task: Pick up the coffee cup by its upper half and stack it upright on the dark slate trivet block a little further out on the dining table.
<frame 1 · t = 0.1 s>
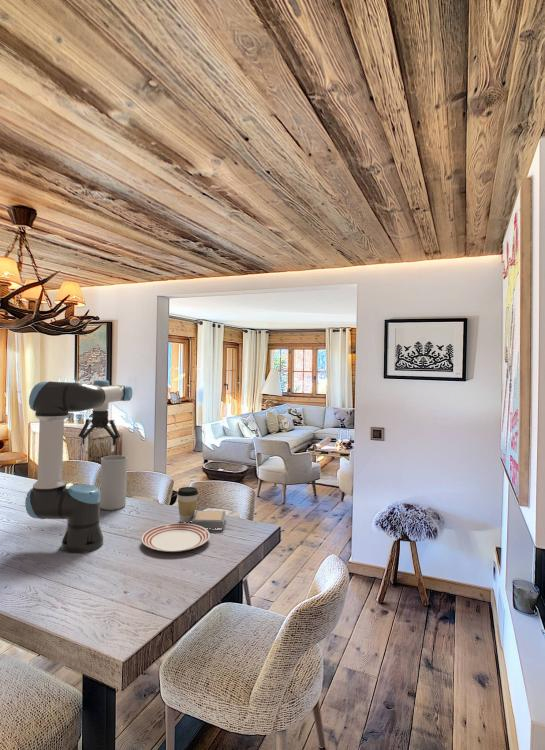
hand: (99, 451, 214), 28 cm above the table, fingers open, 13 cm apart
dinner plate: (176, 543, 171), on the table
coffee cup: (186, 521, 196), on the table
trivet base: (208, 524, 192), on the table
cylinder vase: (112, 506, 213), on the table
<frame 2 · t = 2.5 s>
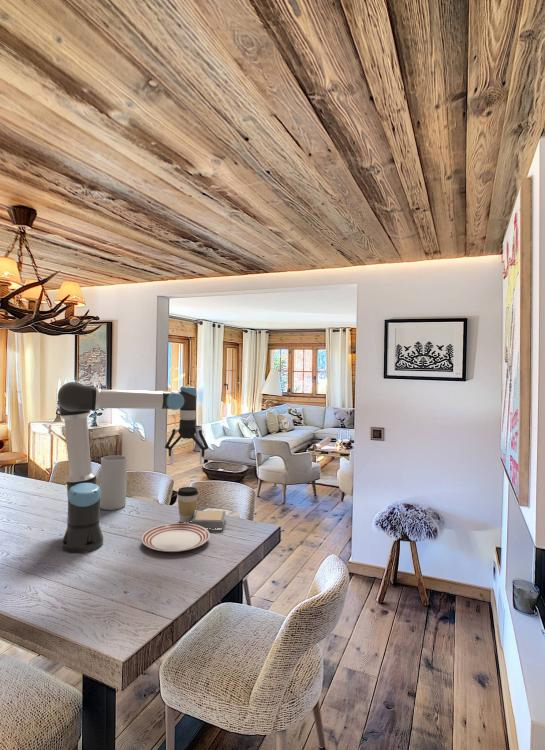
hand: (186, 463, 197), 27 cm above the table, fingers open, 13 cm apart
nothing on the table moved.
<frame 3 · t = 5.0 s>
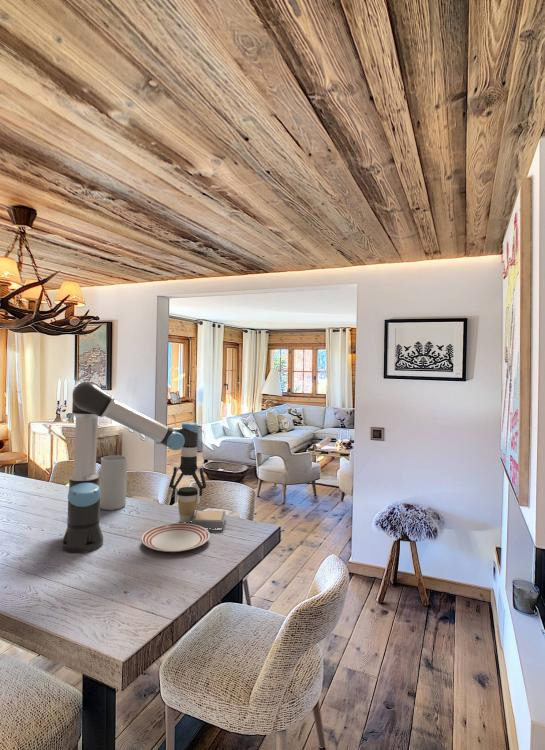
hand: (187, 502, 196), 9 cm above the table, fingers closed on coffee cup, 10 cm apart
coffee cup: (186, 521, 196), on the table, touching gripper
everything else where it was.
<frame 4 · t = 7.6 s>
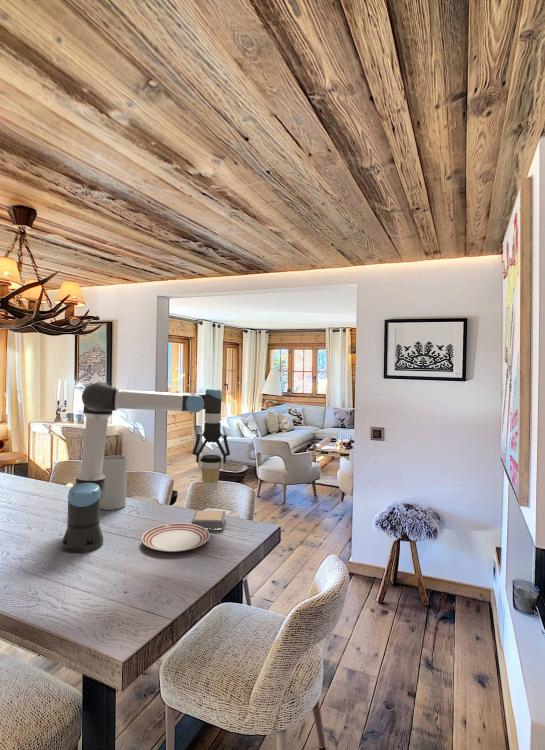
hand: (210, 470, 192), 25 cm above the table, fingers closed on coffee cup, 10 cm apart
coffee cup: (210, 489, 192), point 16 cm above the table, touching gripper
everything else where it was.
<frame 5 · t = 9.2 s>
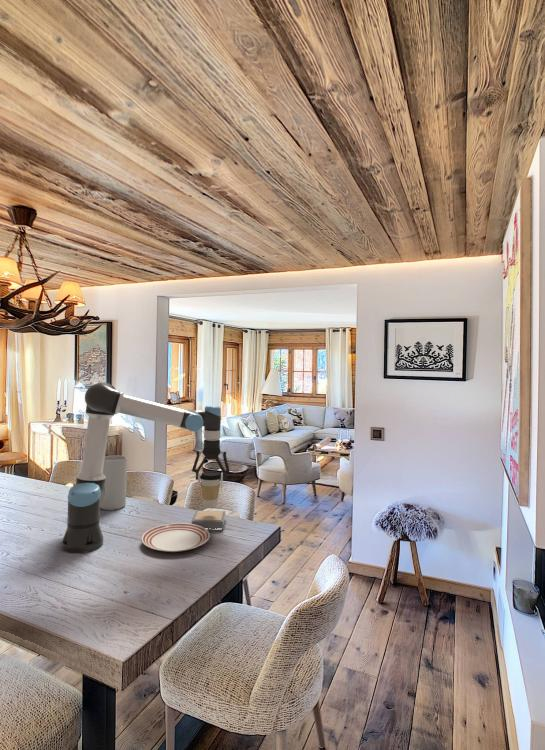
hand: (210, 487, 192), 17 cm above the table, fingers closed on coffee cup, 10 cm apart
coffee cup: (209, 506, 192), point 9 cm above the table, touching gripper
everything else where it was.
when the fingers open (14 cm above the table, at t = 10.6 s): coffee cup drops 1 cm, resting on trivet base.
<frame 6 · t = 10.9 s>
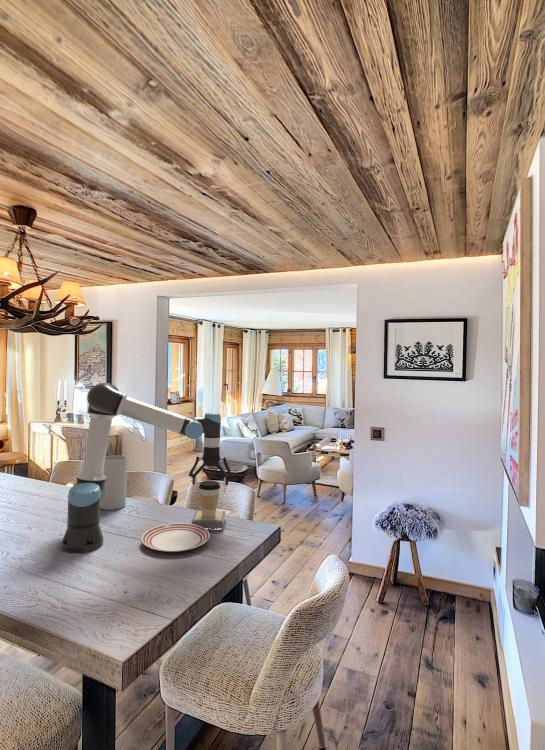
hand: (210, 491, 192), 15 cm above the table, fingers open, 13 cm apart
coffee cup: (208, 515, 192), point 4 cm above the table, touching trivet base
everything else where it was.
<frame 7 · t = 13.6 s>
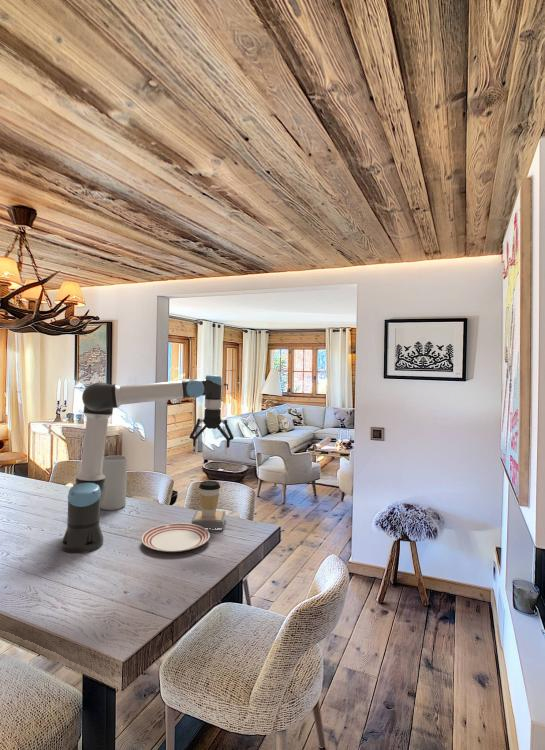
hand: (211, 454, 192), 33 cm above the table, fingers open, 13 cm apart
nothing on the table moved.
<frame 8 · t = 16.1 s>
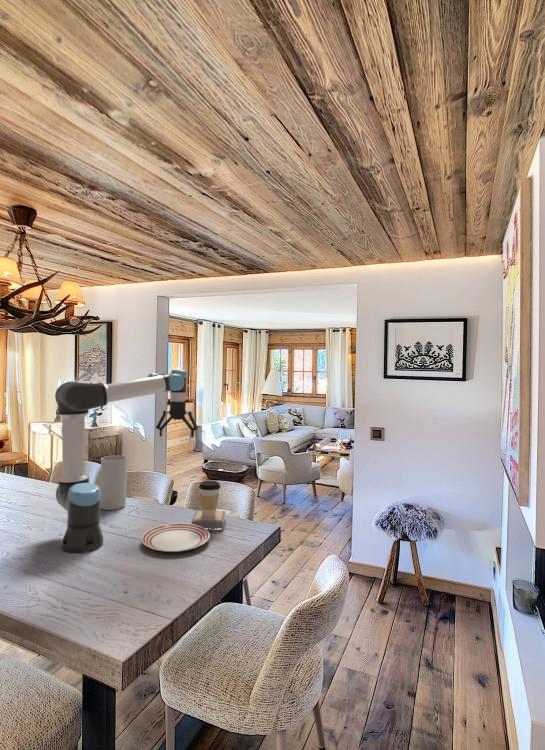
hand: (176, 443, 206), 35 cm above the table, fingers open, 13 cm apart
nothing on the table moved.
at the end: coffee cup inside the target area on the trivet base (0.3 cm from its centre), point 4.1 cm above the trivet base's base; coffee cup tilted 0°; the gripper is holding nothing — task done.
